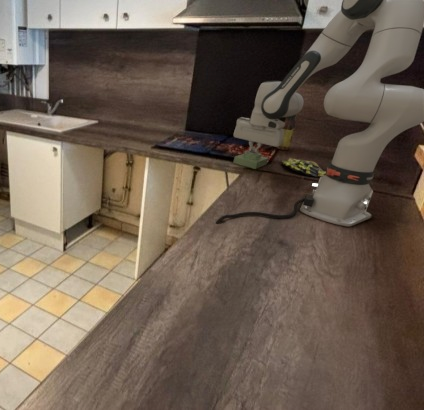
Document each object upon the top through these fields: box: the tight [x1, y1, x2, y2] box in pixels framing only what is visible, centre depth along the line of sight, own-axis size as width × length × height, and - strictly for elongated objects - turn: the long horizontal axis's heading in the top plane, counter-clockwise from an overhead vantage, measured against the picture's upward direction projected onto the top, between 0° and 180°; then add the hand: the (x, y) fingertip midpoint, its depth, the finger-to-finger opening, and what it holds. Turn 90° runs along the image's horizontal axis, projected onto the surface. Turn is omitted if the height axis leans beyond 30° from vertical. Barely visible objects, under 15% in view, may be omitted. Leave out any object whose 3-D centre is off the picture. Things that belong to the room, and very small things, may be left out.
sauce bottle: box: [275, 114, 297, 151], centre depth 184 cm, size 7×6×20 cm
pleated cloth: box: [281, 157, 327, 178], centre depth 155 cm, size 20×16×7 cm
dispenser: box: [232, 150, 269, 170], centre depth 159 cm, size 12×10×5 cm
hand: (253, 151), depth 158 cm, fingers closed, pressing on pump
